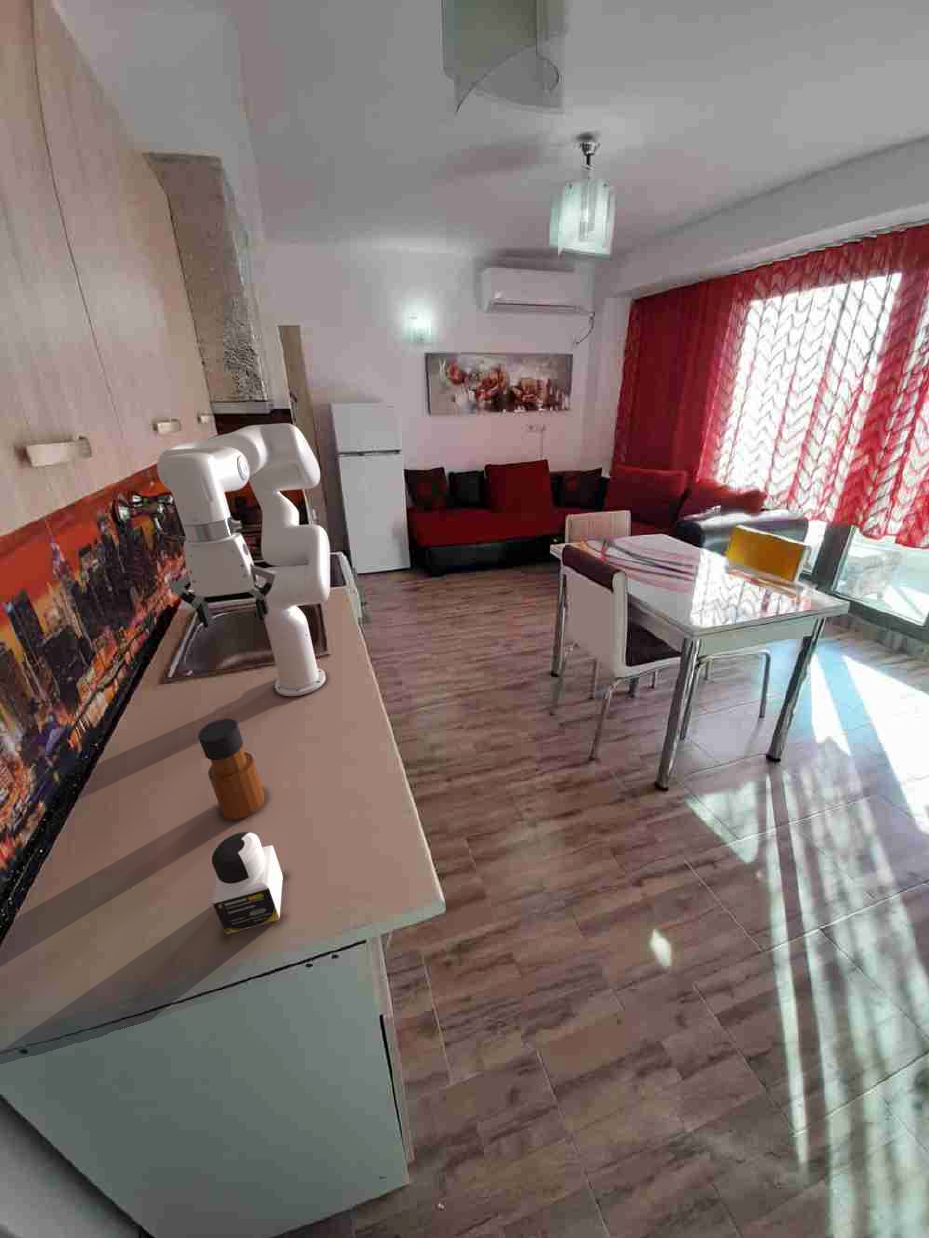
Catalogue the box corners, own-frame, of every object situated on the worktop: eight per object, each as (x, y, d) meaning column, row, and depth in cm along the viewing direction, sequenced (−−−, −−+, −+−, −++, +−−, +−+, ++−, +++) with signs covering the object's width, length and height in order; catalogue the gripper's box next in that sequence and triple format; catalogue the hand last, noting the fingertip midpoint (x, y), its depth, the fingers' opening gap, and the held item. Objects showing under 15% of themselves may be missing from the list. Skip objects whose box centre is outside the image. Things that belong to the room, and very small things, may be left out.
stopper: (216, 755, 85) (204, 721, 81) (251, 749, 86) (240, 716, 82) (206, 779, 79) (193, 744, 76) (244, 772, 80) (232, 737, 77)
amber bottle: (227, 792, 89) (208, 738, 84) (267, 785, 90) (250, 731, 85) (217, 823, 83) (195, 766, 77) (260, 814, 84) (242, 758, 78)
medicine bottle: (225, 936, 65) (200, 877, 60) (234, 889, 71) (211, 832, 66) (279, 920, 67) (259, 861, 61) (283, 876, 73) (265, 819, 68)
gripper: (266, 520, 85) (287, 606, 92) (162, 530, 82) (192, 618, 89) (259, 530, 78) (282, 623, 86) (145, 542, 75) (179, 636, 83)
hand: (236, 620), depth 87 cm, fingers open, 9 cm apart
